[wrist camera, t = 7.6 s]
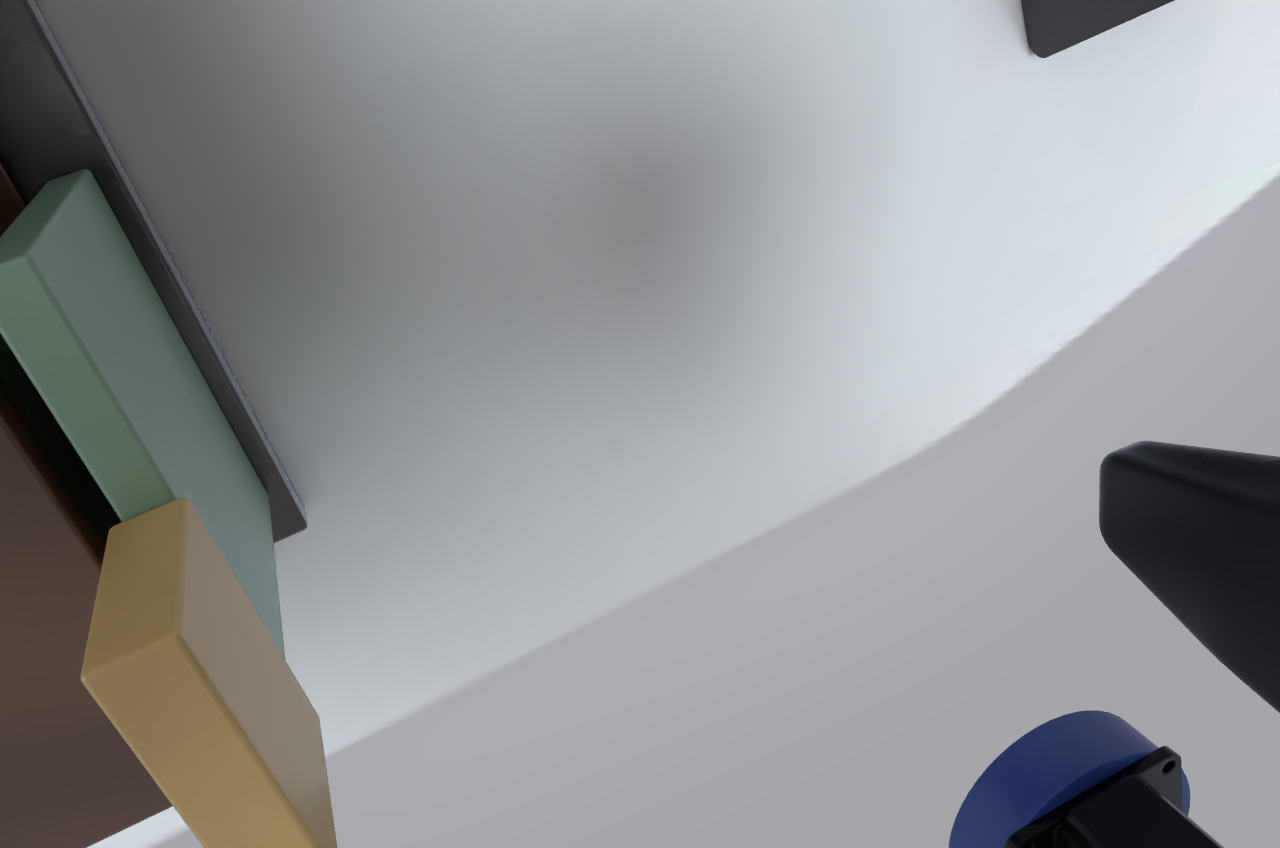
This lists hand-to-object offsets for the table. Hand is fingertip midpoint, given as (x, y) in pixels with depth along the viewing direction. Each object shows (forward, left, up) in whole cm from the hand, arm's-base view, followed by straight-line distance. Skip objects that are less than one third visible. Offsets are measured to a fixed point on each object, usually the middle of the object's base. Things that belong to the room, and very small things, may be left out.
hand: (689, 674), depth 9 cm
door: (+1, +5, -12) cm, 13 cm away
